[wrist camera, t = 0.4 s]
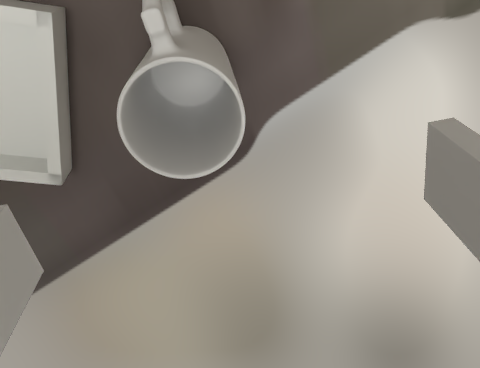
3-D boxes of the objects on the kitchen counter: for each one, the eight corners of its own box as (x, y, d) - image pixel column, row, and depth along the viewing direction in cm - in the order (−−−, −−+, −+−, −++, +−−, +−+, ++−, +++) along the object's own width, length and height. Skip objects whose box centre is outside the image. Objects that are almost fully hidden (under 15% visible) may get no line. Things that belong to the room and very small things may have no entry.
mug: (240, 98, 34) (256, 163, 23) (161, 117, 34) (142, 190, 23) (208, -39, 29) (211, -33, 18) (116, -14, 29) (66, 4, 18)
